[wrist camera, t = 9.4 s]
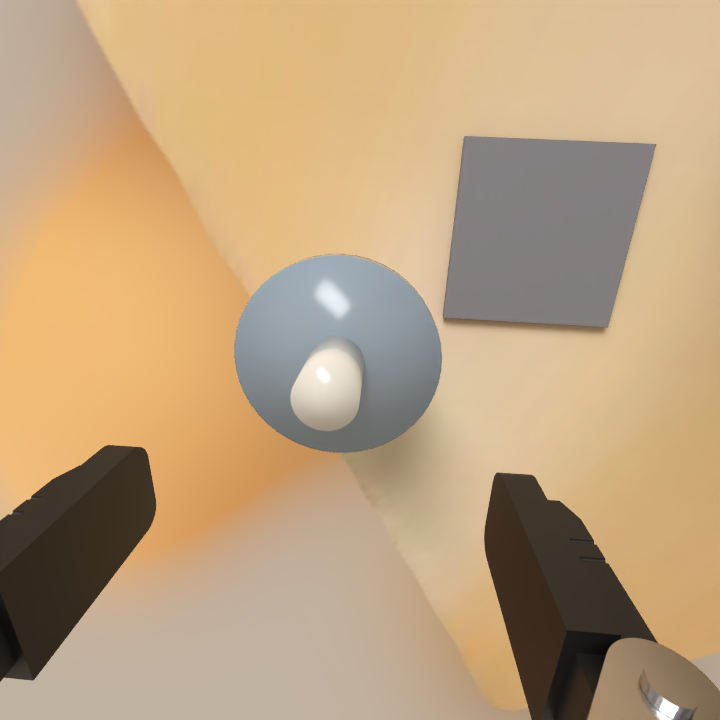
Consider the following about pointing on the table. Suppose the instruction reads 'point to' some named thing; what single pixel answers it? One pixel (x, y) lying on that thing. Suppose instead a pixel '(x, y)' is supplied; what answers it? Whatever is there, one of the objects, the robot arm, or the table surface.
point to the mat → (543, 229)
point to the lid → (338, 353)
